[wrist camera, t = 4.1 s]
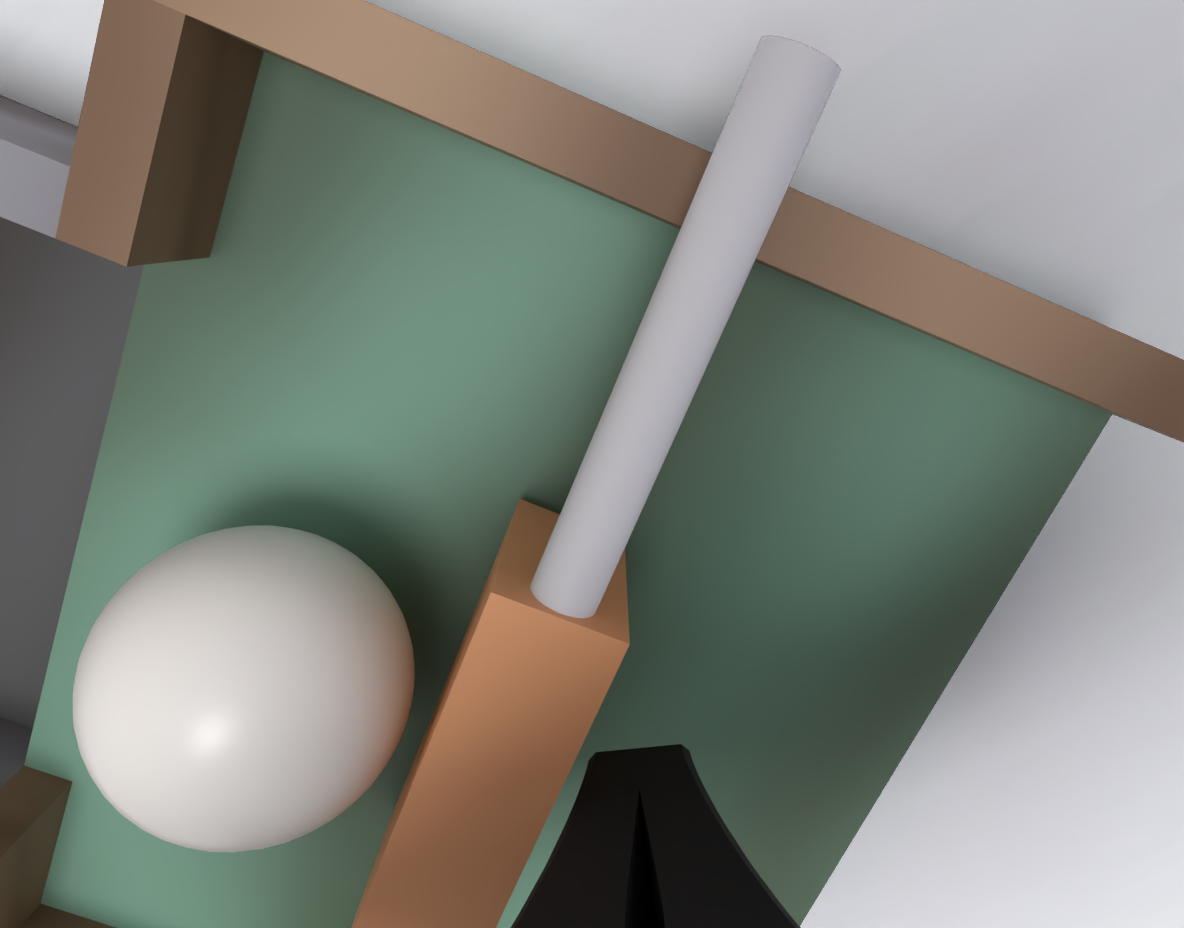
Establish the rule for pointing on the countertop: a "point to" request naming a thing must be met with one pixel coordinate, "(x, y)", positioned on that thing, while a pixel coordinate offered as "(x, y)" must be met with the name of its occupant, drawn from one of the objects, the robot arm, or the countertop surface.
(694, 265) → the kicker
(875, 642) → the pitch
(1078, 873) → the countertop surface
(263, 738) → the ball
